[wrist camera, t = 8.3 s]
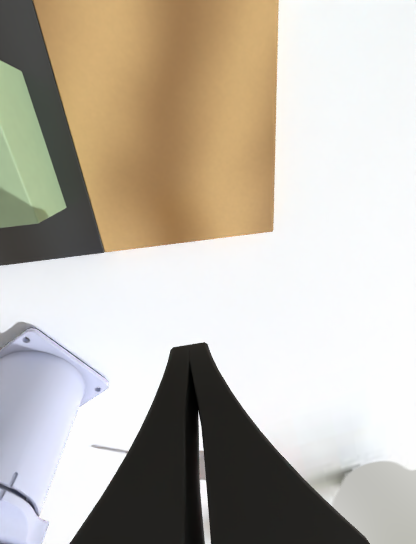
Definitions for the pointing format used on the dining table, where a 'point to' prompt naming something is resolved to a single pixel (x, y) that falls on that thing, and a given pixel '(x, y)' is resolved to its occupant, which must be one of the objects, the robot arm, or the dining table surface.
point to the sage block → (23, 158)
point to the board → (147, 120)
